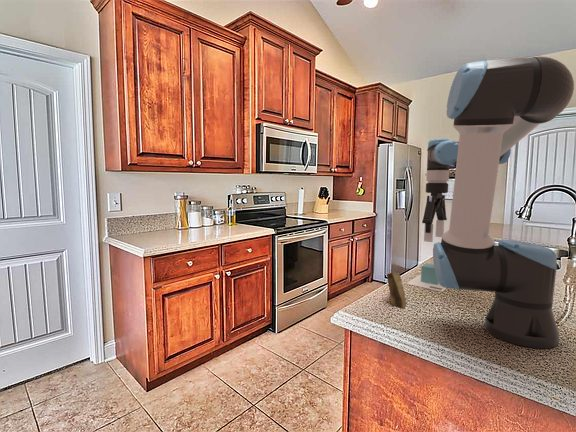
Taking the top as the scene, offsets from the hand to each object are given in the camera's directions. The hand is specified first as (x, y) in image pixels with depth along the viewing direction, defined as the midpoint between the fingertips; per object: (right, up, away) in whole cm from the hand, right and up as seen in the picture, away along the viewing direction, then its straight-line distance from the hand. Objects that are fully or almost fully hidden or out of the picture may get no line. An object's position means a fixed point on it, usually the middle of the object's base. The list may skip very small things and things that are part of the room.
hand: (433, 239), depth 121 cm
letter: (0, -16, +2) cm, 16 cm away
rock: (-19, -19, -18) cm, 32 cm away
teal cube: (0, -16, +2) cm, 16 cm away
